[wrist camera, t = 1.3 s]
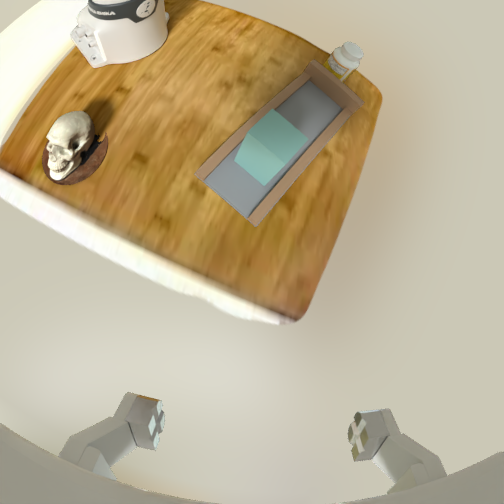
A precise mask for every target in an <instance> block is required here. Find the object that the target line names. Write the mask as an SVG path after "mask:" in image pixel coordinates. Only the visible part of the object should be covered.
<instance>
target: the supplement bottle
mask: <svg viewBox="0 0 504 504" xmlns="http://www.w3.org/2000/svg"><path fill="white" fill-rule="evenodd" d="M363 55H364V54H363V51H362V49H361V48H360V47H359V46H358V45H356V44H354V43H352V42H346V43H344V45H343V46H342V47H338V48H336V49H335V50H334V51H333V52H332V54H331V55H330V56H329V58H328V59H327V60H326V62H325V63H324V64H323V66H324V67H325V68H326V69H327V70H329V71H330V72H331V73H332V74H333V75H335V76H336V77H337V78H338V79H339V80H340V81H342V82H344V81H345V80H346V79H347V78H348V77H349V76H350V75H351V74H352V73H353V72H354V71H355V70H356V69H357V68H358V66H359V64H360V62H359V60H360V59H361V58H362V57H363Z"/></svg>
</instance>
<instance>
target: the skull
mask: <svg viewBox="0 0 504 504" xmlns="http://www.w3.org/2000/svg"><path fill="white" fill-rule="evenodd" d="M106 134H107V133H105V138H104V140H105V141H104V140H103V141H102V142H101V141H100V143H99V142H98V141H97V140H98V139H99V136H100V135H98V136H97V135H96V134H95V128H94V124H93V121H92V119H91V118H90V116H89V115H88V114H86V113H85V112H83V111H74V112H69V113H66V114H64V115H62V116H61V117H60V118H58V119H57V120H56V122H55V123H54V124H53V126H52V128H51V129H50V131H49V133H48V135H47V138H48V139H49V140H48V142H47V144H46V146H45V149H44V152H43V156H42V157H43V158H42V164H43V169H44V172H45V174H46V176H47V177H48V178H49V179H50V180H51V181H53V182H54V183H56V184H60V185H71V184H75V183H78V182H80V181H82V180H84V179H86V178H87V177H89V176H90V175H91V174H92V173H94V171H95V170H96V169H97V168H98V167H99V165H100V164H101V162H102V161H103V159H104V157H105V155H106V152H107V146H108V137H107V136H106Z"/></svg>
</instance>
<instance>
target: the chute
mask: <svg viewBox="0 0 504 504" xmlns="http://www.w3.org/2000/svg"><path fill="white" fill-rule="evenodd" d="M364 103H365V102H364V101H363V100H361V99H360V98H359V97H358V96H357V95H356V94H355V93H354V92H353V91H352V90H351V89H350V88H348V87H347V86H346V85H345V84H344V83H343V82H342V81H340V80H339V79H338V78H337V77H336V76H335V75H333V74H332V73H331V72H330V71H329V70H327V69H326V68H325V67H324V66H322V65H321V64H320V63H319V62H317V61H316V60H315V59H314V60H312V61H311V62H310V63H309V64H308V66H307V67H306V69H305V70H304V72H303V73H302V74H301V75H300V76H299V77H297V78H296V79H295V80H294V81H293V82H291V83H290V84H289V85H288V86H287V87H285V88H284V89H283V90H282V91H281V92H279V93H278V94H277V95H276V96H275V97H274V98H273V99H271V100H270V101H269V102H268V103H267V104H266V105H265V106H263V107H262V108H261V109H260V110H259V111H258V112H257V113H256V114H254V115H253V116H252V117H251V118H250V119H249V120H248V121H247V122H246V123H245V124H244V125H243V126H241V127H240V128H239V129H238V130H237V131H236V132H235V133H234V134H233V135H232V136H231V137H230V138H229V139H228V140H227V141H226V142H225V143H224V144H223V145H222V146H221V147H220V148H219V149H218V150H217V151H216V152H215V153H214V154H213V155H212V156H211V157H210V158H209V159H208V160H207V161H206V162H205V163H204V164H203V165H202V166H201V167H200V168H199V169H198V170H197V171H196V172H195V174H194V175H195V176H197V177H198V178H199V179H200V180H201V181H203V182H204V183H205V184H206V185H207V186H209V187H210V188H211V189H212V190H213V191H214V192H216V193H217V194H218V195H219V196H220V197H221V198H223V199H224V200H225V201H226V202H227V203H228V204H230V205H231V206H232V207H233V208H234V209H235V210H237V211H238V212H239V213H240V214H241V215H242V216H244V217H245V218H246V219H247V220H248V221H249V222H251V223H252V224H253V225H254V226H255V227H257V225H258V224H259V223H260V222H261V221H262V219H263V218H264V217H265V216H266V215H267V213H268V212H269V211H270V210H271V209H272V207H273V206H274V205H275V204H276V203H277V201H278V200H279V199H280V198H281V197H282V196H283V194H284V193H285V192H286V191H287V190H288V188H289V187H290V186H291V185H292V184H293V182H294V181H295V180H296V179H297V178H298V177H299V175H300V174H301V173H302V172H303V171H304V169H305V168H306V167H307V166H308V165H309V164H310V162H311V161H312V160H313V159H314V158H315V156H316V155H317V154H318V153H319V152H320V151H321V149H322V148H323V147H324V146H325V145H326V144H327V142H328V141H329V140H330V139H331V138H332V137H333V135H334V134H335V133H336V132H337V131H338V130H339V128H340V127H341V126H342V125H343V124H344V123H345V121H346V120H347V119H348V118H349V117H350V116H351V115H352V114H353V113H354V112H355V111H357V110H358V109H359V108H360V107H361V106H362V105H363V104H364ZM272 108H273V109H274V110H275V111H276V112H278V113H279V114H280V115H281V116H282V117H284V118H285V119H286V120H287V121H288V122H290V123H291V124H292V125H293V126H294V127H295V128H297V129H298V130H299V131H300V132H301V133H302V134H304V135H305V136H306V137H307V138H308V140H307V142H306V143H305V144H304V145H303V146H302V147H301V148H300V149H299V150H298V151H297V153H296V154H295V155H294V156H293V157H292V158H291V159H290V160H289V161H288V163H287V164H286V165H285V166H284V167H283V168H282V169H281V170H280V171H279V172H278V173H277V174H276V175H275V176H274V177H273V178H272V179H271V180H270V181H269V182H268V183H267V184H266V185H265V186H263V185H262V184H261V183H260V182H259V181H257V180H256V179H255V178H254V177H253V176H252V175H250V174H249V173H248V172H247V171H246V170H245V169H243V168H242V167H241V166H240V165H239V164H238V163H236V162H235V161H234V160H235V157H236V155H237V153H238V151H239V149H240V146H241V144H242V142H243V140H244V138H245V136H246V134H247V132H248V131H249V130H250V129H251V128H252V127H253V126H254V125H255V124H256V123H257V122H258V121H259V120H260V119H261V118H263V117H264V116H265V115H266V114H267V113H268V112H269V111H270V110H271V109H272Z"/></svg>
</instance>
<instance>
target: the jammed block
mask: <svg viewBox="0 0 504 504" xmlns="http://www.w3.org/2000/svg"><path fill="white" fill-rule="evenodd" d="M307 140H308V138H307V137H306V136H305V135H304V134H302V133H301V132H300V131H299V130H298V129H297V128H295V127H294V126H293V125H292V124H291V123H290V122H288V121H287V120H286V119H285V118H284V117H282V116H281V115H280V114H279V113H278V112H276V111H275V110H274V109H273V108H272V109H271V110H270V111H269V112H268V113H267V114H266V115H265V116H264V117H263V118H261V119H260V120H259V121H258V122H257V123H256V124H255V125H254V126H253V127H252V128H251V129H250V130H249V131H248V132H247V134H246V136H245V138H244V140H243V142H242V144H241V146H240V149H239V151H238V153H237V155H236V157H235V160H234V161H235V162H236V163H238V164H239V165H240V166H241V167H242V168H243V169H245V170H246V171H247V172H248V173H249V174H250V175H252V176H253V177H254V178H255V179H256V180H257V181H259V182H260V183H261V184H262V185H263V186H265V185H266V184H267V183H268V182H269V181H270V180H271V179H272V178H273V177H274V176H275V175H276V174H277V173H278V172H279V171H280V170H281V169H282V168H283V167H284V166H285V165H286V164H287V163H288V161H289V160H290V159H291V158H292V157H293V156H294V155H295V154H296V153H297V151H298V150H299V149H300V148H301V147H302V146H303V145H304V144H305V143H306V142H307Z"/></svg>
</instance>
